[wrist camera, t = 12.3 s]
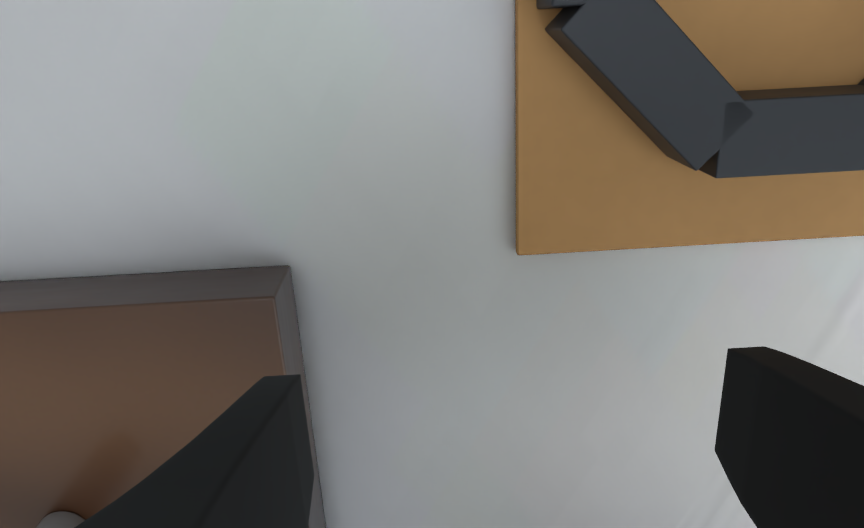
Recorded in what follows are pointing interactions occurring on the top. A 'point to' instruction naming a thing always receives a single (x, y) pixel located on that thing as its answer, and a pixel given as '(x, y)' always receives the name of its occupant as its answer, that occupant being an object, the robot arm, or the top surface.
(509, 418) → the top surface
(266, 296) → the stand
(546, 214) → the mat
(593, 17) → the headband ring
